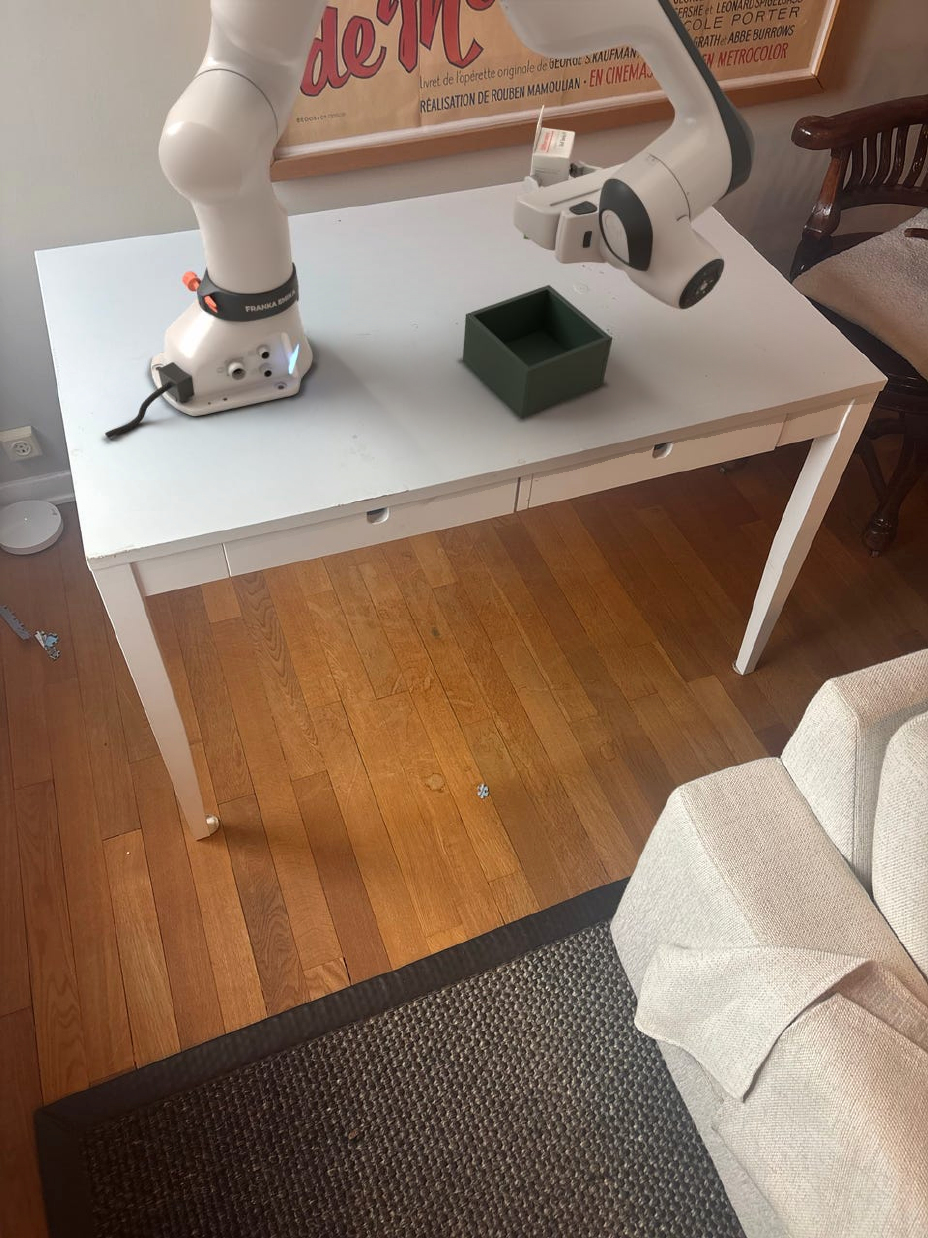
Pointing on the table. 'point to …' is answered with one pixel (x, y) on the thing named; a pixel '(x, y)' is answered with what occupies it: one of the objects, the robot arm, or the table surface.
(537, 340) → the open storage bin
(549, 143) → the ink box
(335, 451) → the table surface
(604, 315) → the table surface
